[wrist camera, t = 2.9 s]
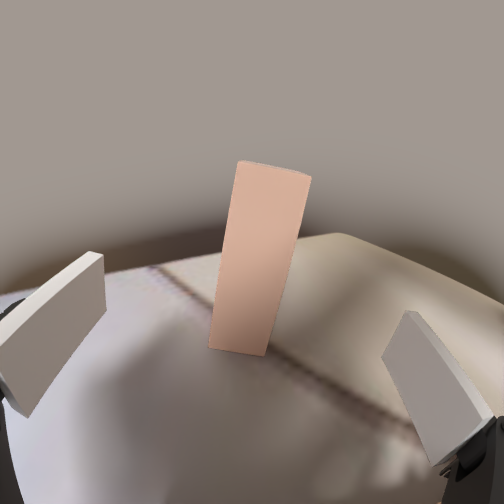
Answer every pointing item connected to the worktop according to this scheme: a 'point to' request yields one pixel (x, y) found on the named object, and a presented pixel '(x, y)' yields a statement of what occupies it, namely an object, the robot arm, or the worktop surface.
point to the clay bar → (256, 255)
